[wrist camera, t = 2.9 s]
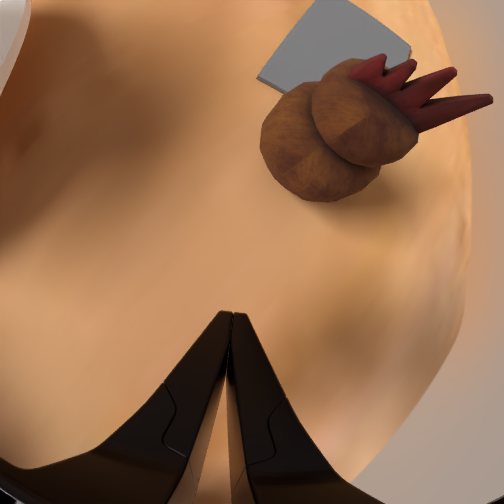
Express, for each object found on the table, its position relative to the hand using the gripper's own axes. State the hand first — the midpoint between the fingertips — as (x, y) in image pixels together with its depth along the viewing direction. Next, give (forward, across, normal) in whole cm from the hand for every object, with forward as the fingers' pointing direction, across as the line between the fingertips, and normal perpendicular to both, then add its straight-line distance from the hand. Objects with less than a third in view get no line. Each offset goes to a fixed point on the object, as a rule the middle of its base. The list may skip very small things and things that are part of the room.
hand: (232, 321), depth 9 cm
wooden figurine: (+14, -3, -2) cm, 15 cm away
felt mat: (+21, -7, -12) cm, 25 cm away
